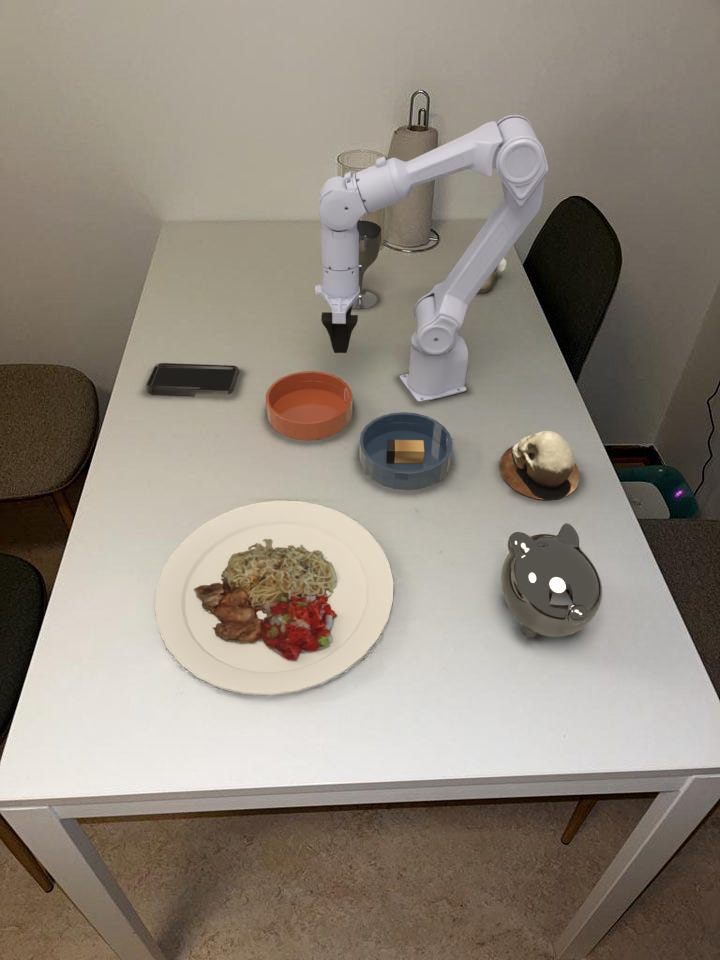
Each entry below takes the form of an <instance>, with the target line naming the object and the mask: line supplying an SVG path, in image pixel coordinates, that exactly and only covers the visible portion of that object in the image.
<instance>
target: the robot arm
mask: <svg viewBox="0 0 720 960" xmlns="http://www.w3.org/2000/svg"><path fill="white" fill-rule="evenodd" d="M538 139H539V138H538V137H537V135H536V133H535V130H534V126H533V124H532V123H531V121H530V120H529V119H528V118H526V117H525V116H523V115H520V114H511V115H510V114H509V115H505V116H504V117H502V118H500V119H499V120H498V121H496V120H493V121H488V122H485V123H484V124H482V125H480V126H478V127H477V128H475V129H473V130H472V131H470V132H467V133H466V134H464V135H461V136H458V138H455V139H453V140H451V141H448V142H446V143H445V144H442V145H440V146H438V147H436V148H434V149H432V150H430V151H427V152H425V153H422V154H421V155H419V156H417V157H415V158H413V159H410V160H408V161H404V160H401V159H399V158H397V157H391V158H388V159H386V156H381V157H379V158H376V159H375V164H374V165H371V166H369V167H366V168H364V169H362V170H359V171H357V172H354V173H352V171H348V172H346V173H344V175H343V177H342V176H341V175H338V176H333V177H331V178H329V179H328V180H326V181H325V182H324V184H323V185H322V186H321V189H320V193H319V201H318V216H319V218H320V228H321V231H320V258H321V259H320V260H321V284H316V285H315V287H314V294H315V295H316V296H321V297H322V298H323V299H324V301H325V303H326V304H327V306H328V308H329V309H330V311H328V312H327V311H323V312H321V316H320V317H321V319H320V321H321V323H322V325H323V327H324V328H325V330H326V331H327V333H328V336H329V340H330V343H331V348H332V351H333V352H334V354H347V353H348V350H349V346H350V341H351V336H352V333H353V331H354V329H355V327H356V326H357V323H358V321H359V315H358V314H352V309H353V308H352V306H353V303H354V302H355V300H356V299H357V298H358V296H359V295H360V287H359V232H358V230H357V222H358V220H359V219H360V218H361V217H363V216H367V215H370V214H372V213H376V212H377V211H378V212H379V211H380V210H382V209H386V208H387V207H390V206H393V205H396V204H398V203H401V202H403V201H406V200H407V199H408V198H409V196H410V194H411V193H412V191H413V189H414V188H415V187H417V186H420V185H424V184H427V183H430V182H433V181H435V180H436V181H437V180H438V179H442V178H445V177H449V176H451V175H454V174H457V173H461V172H463V171H466V170H471V171H473V172H476V173H478V174H481V175H483V176H485V177H488V178H492V177H493V169H494V170H495V169H496V173H497V175H498V177H499V179H500V181H501V186H502V192H503V197H502V199H500V201H499V203H498V204H497V206H496V207H495V208H494V210H493V211H492V212H491V214H490V215H489V217H488V218H487V220H486V221H485V223H484V224H483V225H482V227H481V229H480V230H479V231H478V233H477V234H476V236H475V237H474V238H473V240H472V241H471V243H470V244H469V246H467V248H466V250H465V251H464V252H463V254H462V255H461V256H460V258H459V260H458V261H457V262H456V264H454V267H453V268H452V269H451V270H450V272H449V274H448V275H447V277H446V278H445V279H444V281H443V282H440V283H435V285H434V286H433V287H432V289H431V290H430V291H429V292H427V293H426V294H425V295H423V296H421V297H420V298H419V299H418V300H417V301H416V303H415V305H414V307H413V315H414V318H415V331H414V333H413V334H412V335H411V339H410V353H409V367H408V373H405V374H401V375H399V378H400V380H401V381H402V383H403V384H404V385H405V387H406V388H407V389H408V390H409V392H410V393H411V395H412V396H413V397H414V398H415V400H416V401H417V402H423V401H427V400H428V401H433V400H436V399H441V398H445V397H449V396H453V395H457V394H461V393H465V392H467V387H466V386H465V384H466V377H467V372H468V371H467V369H468V363H469V351H468V346H467V344H466V342H465V340H464V338H463V337H462V336H461V335H459V334H458V332H459V330H460V328H462V326H463V324H464V321H465V317H466V313H467V310H468V307H469V305H470V303H471V302H472V301H473V300H474V298H475V297H476V295H477V294H479V293H478V291H479V290H480V289H481V287H482V286H483V285H484V283H485V282H486V281H487V279H488V278H489V277H490V275H491V274H492V273H493V271H494V270H495V269H496V267H497V266H498V265H499V263H500V262H501V261H502V259H503V258H504V259H505V257H506V256H507V254H508V253H509V252H510V250H511V249H512V247H513V246H514V245H515V244H516V242H517V241H518V239H519V238H520V237H521V235H522V234H523V233H524V232H525V230H526V229H527V228H528V226H529V225H530V223H531V222H532V221H533V219H535V217H536V216H537V214H538V212H540V209H541V208H542V203H543V196H544V189H545V181H546V176H547V174H548V172H549V164H548V160H547V157H546V156H547V155H546V153H545V149H544V147H543V145H542V143H541V142H540V141H539V140H538Z"/></svg>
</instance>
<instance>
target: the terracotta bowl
mask: <svg viewBox="0 0 720 960" xmlns="http://www.w3.org/2000/svg"><path fill="white" fill-rule="evenodd" d="M265 406H266V415H267V420H268V422H269V424H270V426H271V427H272V428H273V429H274V430H275V431H276V432H277V433H279V434H281V435H283V436H285V437H287V438H290V439H293V440H298V441H299V440H301V441H317V440H323V439H326V438H329V437H332V436H334V435H336V434H338V433H340V432H341V431H343V430H344V429H345V428H346V427H347V426H348V425H349V423H350V422H351V420H352V415H353V393H352V389H351V388H350V386H349V384H348V383H347V382H346V381H344V380H343V379H342V378H341V377H339V376H336V375H334V374H332V373H328V372H324V371H315V370H305V371H303V370H302V371H298V372H293V373H289V374H287V375H285V376H282V377H280V378H279V379H277V380H275V381H274V382H273V383H272V384H271V385H270V386H269V387H268V389H267V392H266V394H265Z"/></svg>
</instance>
